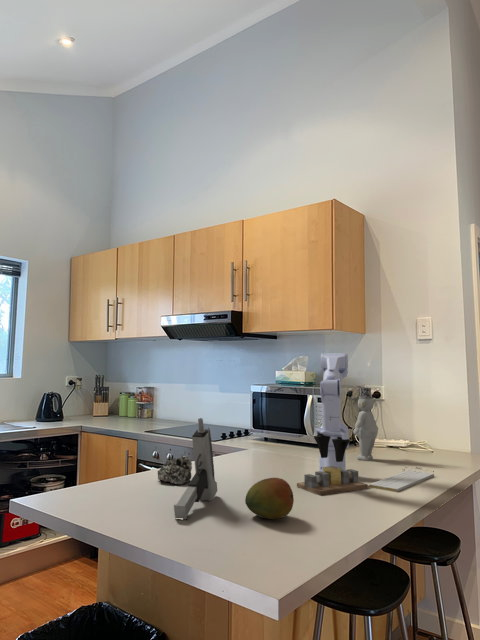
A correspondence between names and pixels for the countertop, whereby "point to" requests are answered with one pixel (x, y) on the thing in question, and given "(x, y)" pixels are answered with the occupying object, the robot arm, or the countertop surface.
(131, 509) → the countertop surface
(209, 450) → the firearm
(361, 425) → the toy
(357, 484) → the shaft base
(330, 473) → the block
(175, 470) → the rock
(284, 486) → the fruit
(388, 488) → the baseboard molding
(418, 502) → the countertop surface
